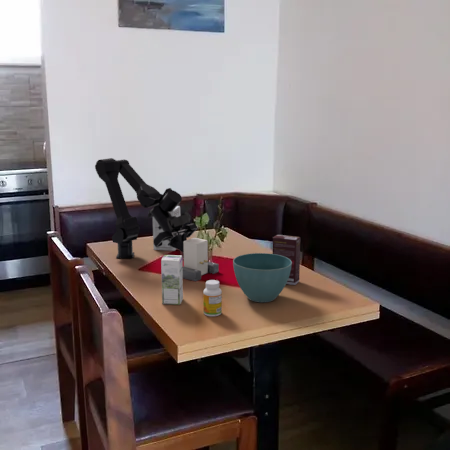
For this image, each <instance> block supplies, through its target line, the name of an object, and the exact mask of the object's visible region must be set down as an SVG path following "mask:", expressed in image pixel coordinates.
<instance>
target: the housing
mask: <svg viewBox="0 0 450 450" xmlns="http://www.w3.org/2000/svg"><path fill="white" fill-rule="evenodd" d="M219 266H220V265H219V263H216V262H212V261H211V262H210V261H208V273H207V274H211V273H212V275H215V274H217V273H219V271H220V270H219V268H220V267H219ZM183 279H185V280H189V281H193V282H198V281H201V280H202V275H201V271H199V270H195V269H191V268H187V267H184V266H183Z"/></svg>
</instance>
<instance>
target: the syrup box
mask: <svg viewBox="0 0 450 450" xmlns="http://www.w3.org/2000/svg"><path fill="white" fill-rule="evenodd" d="M160 264H161V266H160V267H161V269H160V271H161V304H162V305H172V306H174V305H176V306H179V305H181V304H182V302H183V300H184V290H183V289H184V288H183V283H184V282H183V279H184V278H183V267H184V261H183V255H182V254H181V255H175V254H164V255H163V256H162V258H161V261H160Z"/></svg>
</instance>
